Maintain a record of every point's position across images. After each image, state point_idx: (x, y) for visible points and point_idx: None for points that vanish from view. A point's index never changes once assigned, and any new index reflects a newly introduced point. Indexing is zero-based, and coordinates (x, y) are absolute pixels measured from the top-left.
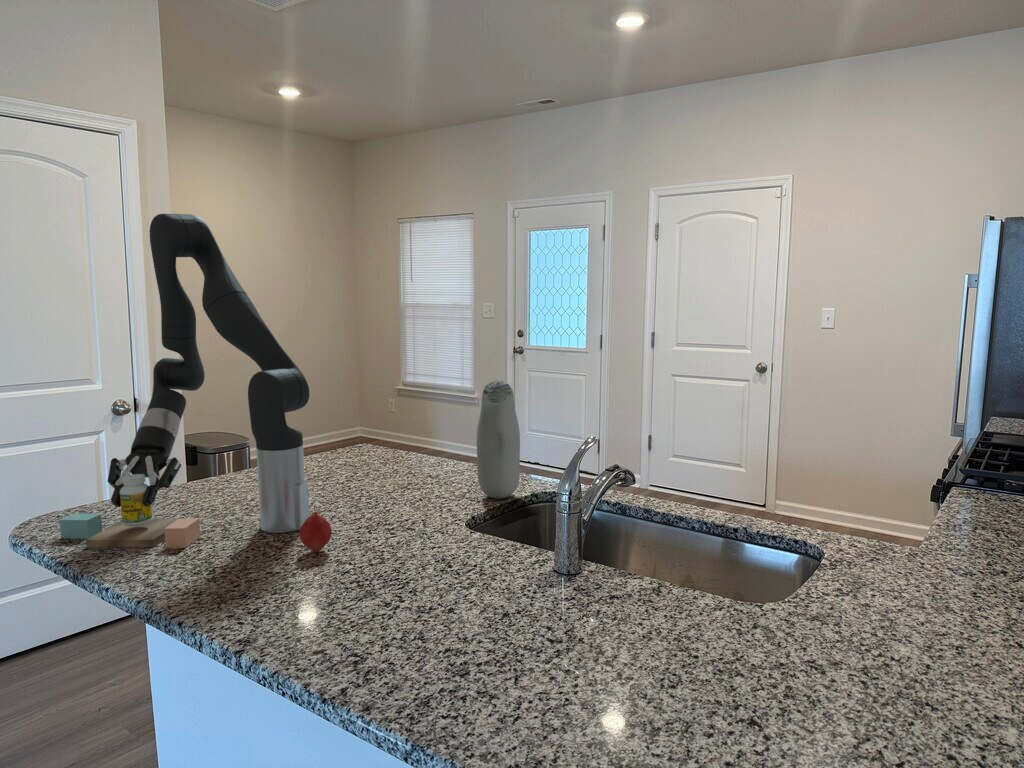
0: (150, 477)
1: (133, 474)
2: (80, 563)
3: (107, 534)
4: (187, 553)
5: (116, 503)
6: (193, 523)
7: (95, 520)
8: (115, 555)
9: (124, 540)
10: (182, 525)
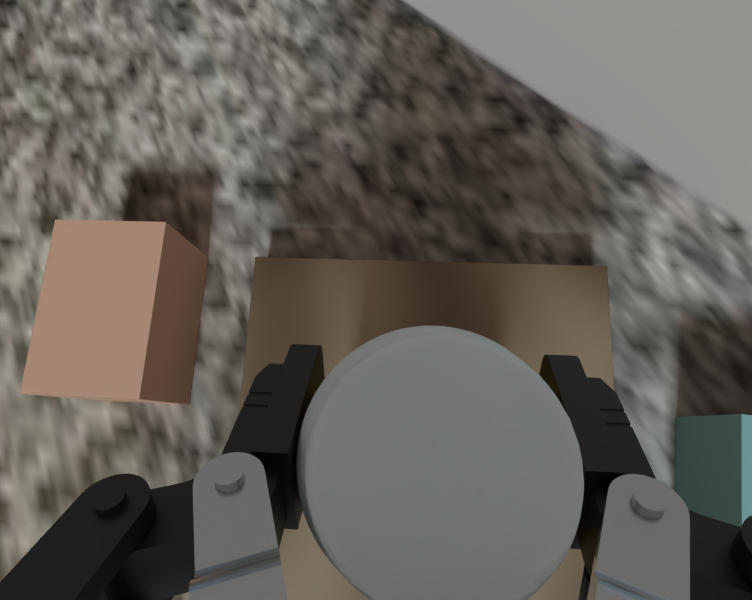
0: (257, 547)
1: (504, 597)
2: (493, 97)
3: (545, 352)
4: (90, 186)
5: (541, 366)
6: (39, 321)
7: (725, 493)
8: (393, 177)
9: (401, 261)
10: (81, 266)
